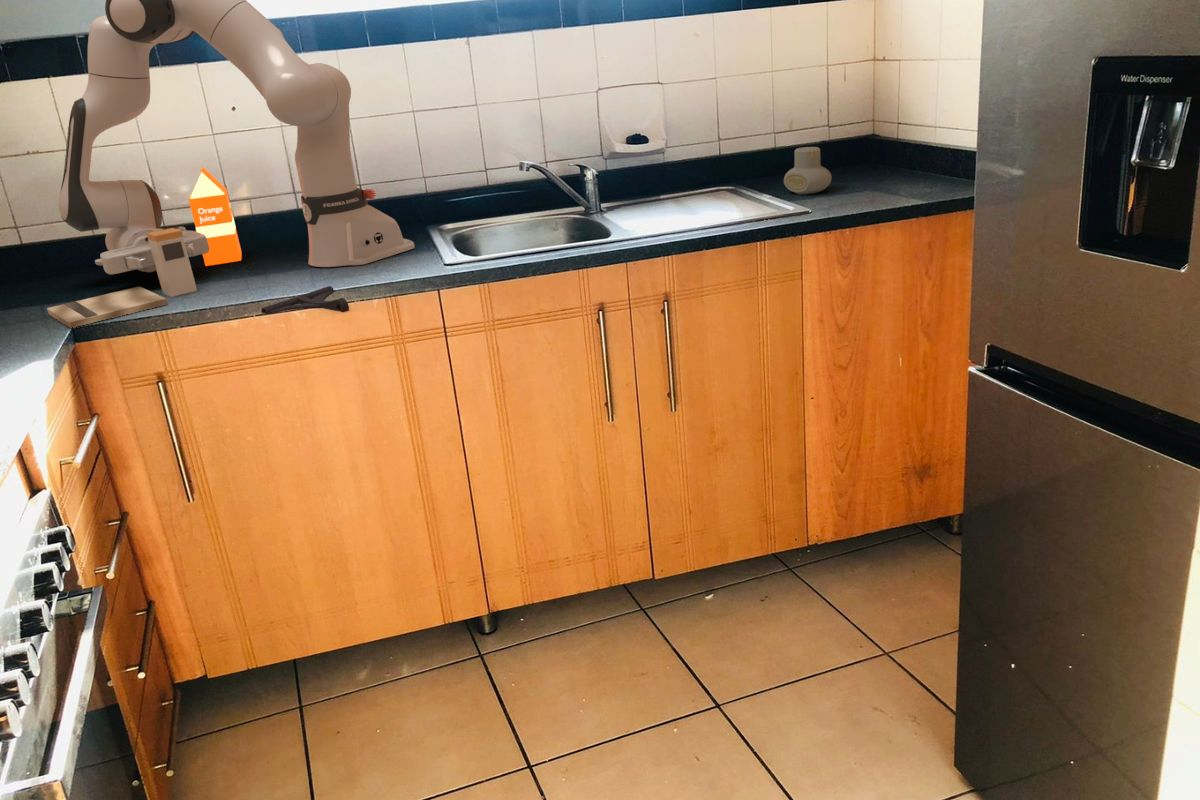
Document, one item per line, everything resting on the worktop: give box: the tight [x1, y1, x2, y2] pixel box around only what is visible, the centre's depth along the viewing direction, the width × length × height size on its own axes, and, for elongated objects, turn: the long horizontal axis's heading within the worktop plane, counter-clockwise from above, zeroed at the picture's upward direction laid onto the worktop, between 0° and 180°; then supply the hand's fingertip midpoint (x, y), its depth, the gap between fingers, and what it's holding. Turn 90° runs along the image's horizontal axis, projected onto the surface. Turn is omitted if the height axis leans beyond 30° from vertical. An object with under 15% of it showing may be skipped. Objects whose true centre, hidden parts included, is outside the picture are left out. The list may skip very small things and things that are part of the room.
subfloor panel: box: [46, 286, 168, 329], centre depth 179 cm, size 17×16×1 cm
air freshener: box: [783, 146, 833, 196], centre depth 221 cm, size 11×8×10 cm
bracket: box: [260, 285, 350, 315], centre depth 167 cm, size 14×15×3 cm
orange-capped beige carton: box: [147, 227, 198, 298], centre depth 184 cm, size 5×5×12 cm
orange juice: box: [188, 166, 243, 267], centre depth 208 cm, size 8×9×20 cm
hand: (167, 257), depth 186 cm, fingers open, 8 cm apart
